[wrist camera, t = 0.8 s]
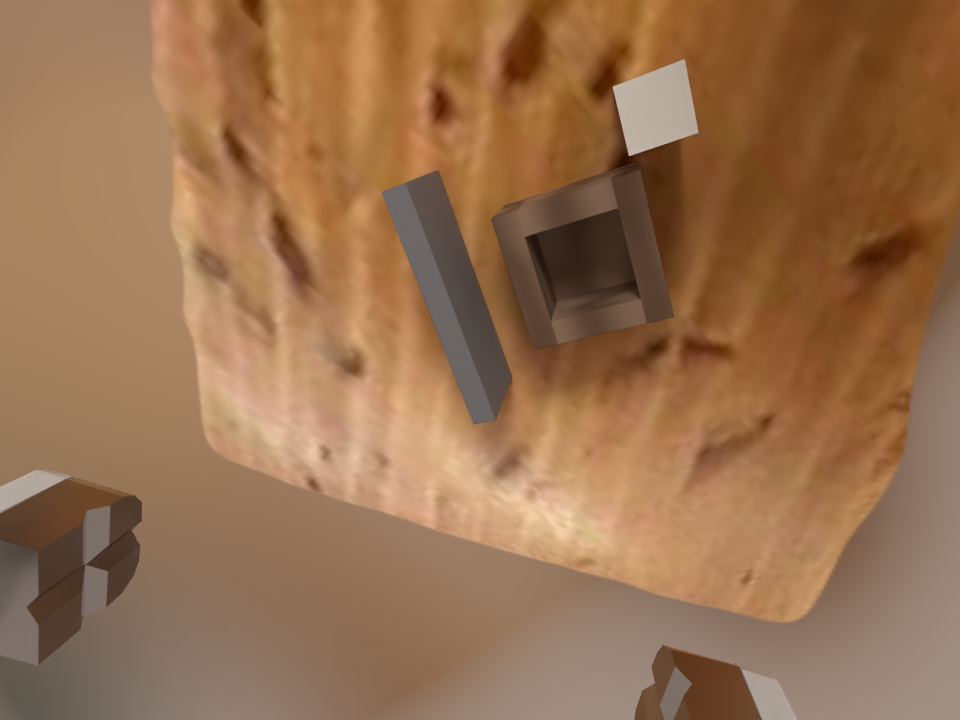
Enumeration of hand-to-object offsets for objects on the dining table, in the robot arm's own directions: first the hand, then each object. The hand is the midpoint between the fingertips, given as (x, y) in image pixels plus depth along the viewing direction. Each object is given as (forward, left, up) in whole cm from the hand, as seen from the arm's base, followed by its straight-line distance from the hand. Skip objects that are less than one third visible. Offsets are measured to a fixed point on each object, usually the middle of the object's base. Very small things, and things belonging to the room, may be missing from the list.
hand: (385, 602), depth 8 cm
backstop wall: (+11, +5, -41) cm, 42 cm away
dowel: (-7, -4, -41) cm, 41 cm away
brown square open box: (0, +5, -41) cm, 41 cm away
